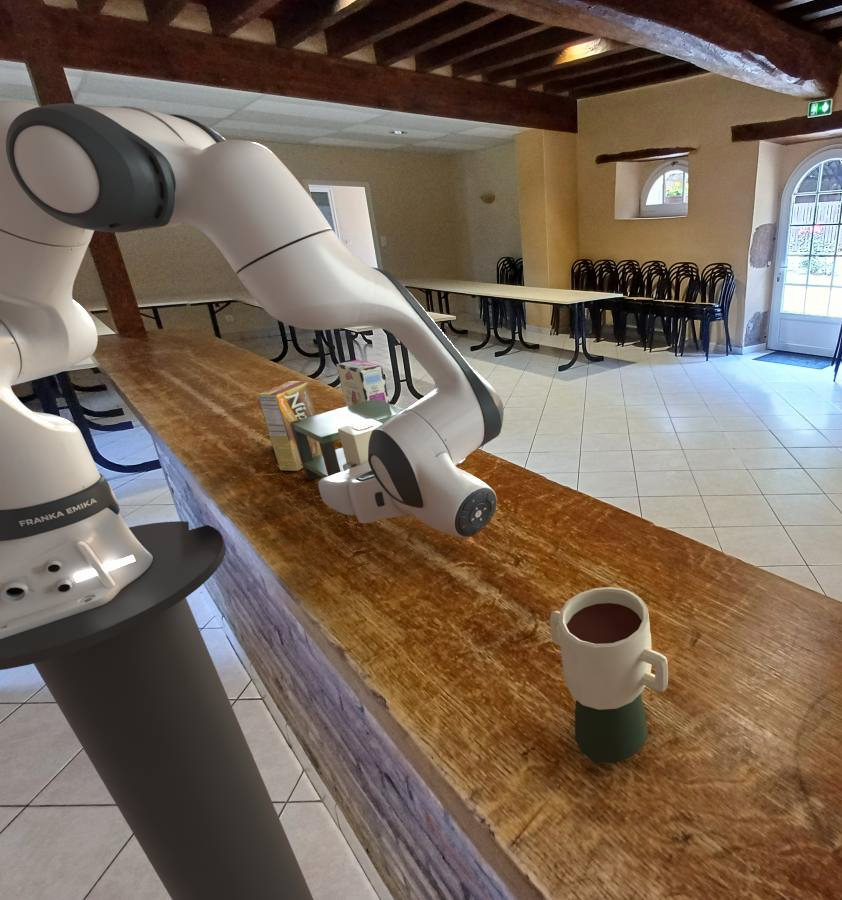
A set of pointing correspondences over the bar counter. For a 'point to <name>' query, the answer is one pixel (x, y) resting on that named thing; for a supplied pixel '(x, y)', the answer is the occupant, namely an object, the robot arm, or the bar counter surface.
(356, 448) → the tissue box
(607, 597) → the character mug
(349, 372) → the candy bar box
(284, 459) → the candy box
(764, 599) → the bar counter surface
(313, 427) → the rack
